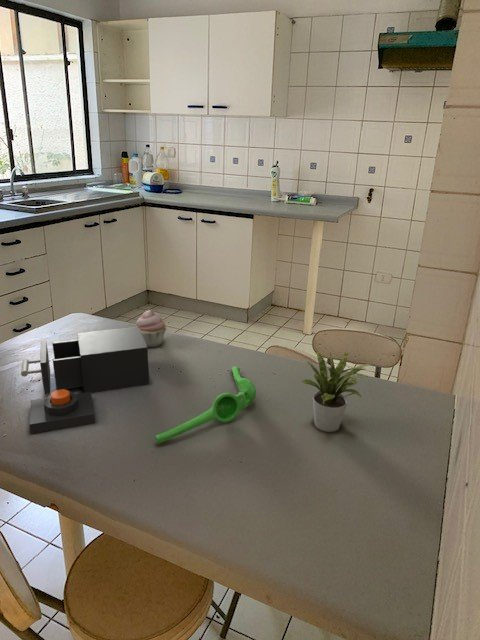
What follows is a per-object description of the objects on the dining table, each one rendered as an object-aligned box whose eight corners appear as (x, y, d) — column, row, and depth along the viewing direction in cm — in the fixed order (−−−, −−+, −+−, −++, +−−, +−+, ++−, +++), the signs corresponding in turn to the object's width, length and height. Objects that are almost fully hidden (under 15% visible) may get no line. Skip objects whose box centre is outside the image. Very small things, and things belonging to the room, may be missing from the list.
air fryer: (84, 393, 104) (80, 355, 100) (81, 368, 115) (77, 332, 111) (149, 383, 109) (147, 347, 105) (140, 360, 120) (138, 326, 116)
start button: (51, 407, 92) (50, 399, 92) (51, 398, 95) (50, 390, 95) (70, 404, 94) (69, 396, 93) (70, 395, 97) (69, 387, 96)
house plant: (364, 456, 87) (377, 380, 81) (291, 443, 90) (298, 369, 84) (363, 414, 100) (374, 346, 94) (299, 404, 103) (306, 338, 97)
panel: (30, 434, 90) (28, 416, 88) (32, 409, 98) (29, 393, 96) (95, 422, 94) (93, 406, 93) (91, 400, 102) (89, 384, 100)
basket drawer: (23, 397, 100) (17, 365, 97) (25, 373, 110) (20, 343, 107) (108, 385, 106) (105, 354, 103) (103, 363, 116) (100, 334, 113)
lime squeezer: (232, 371, 116) (232, 348, 114) (275, 382, 112) (277, 359, 109) (152, 444, 88) (151, 416, 86) (207, 464, 84) (207, 435, 81)
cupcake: (162, 351, 125) (161, 317, 121) (129, 348, 126) (127, 314, 122) (172, 337, 134) (171, 305, 130) (141, 334, 135) (139, 302, 131)
